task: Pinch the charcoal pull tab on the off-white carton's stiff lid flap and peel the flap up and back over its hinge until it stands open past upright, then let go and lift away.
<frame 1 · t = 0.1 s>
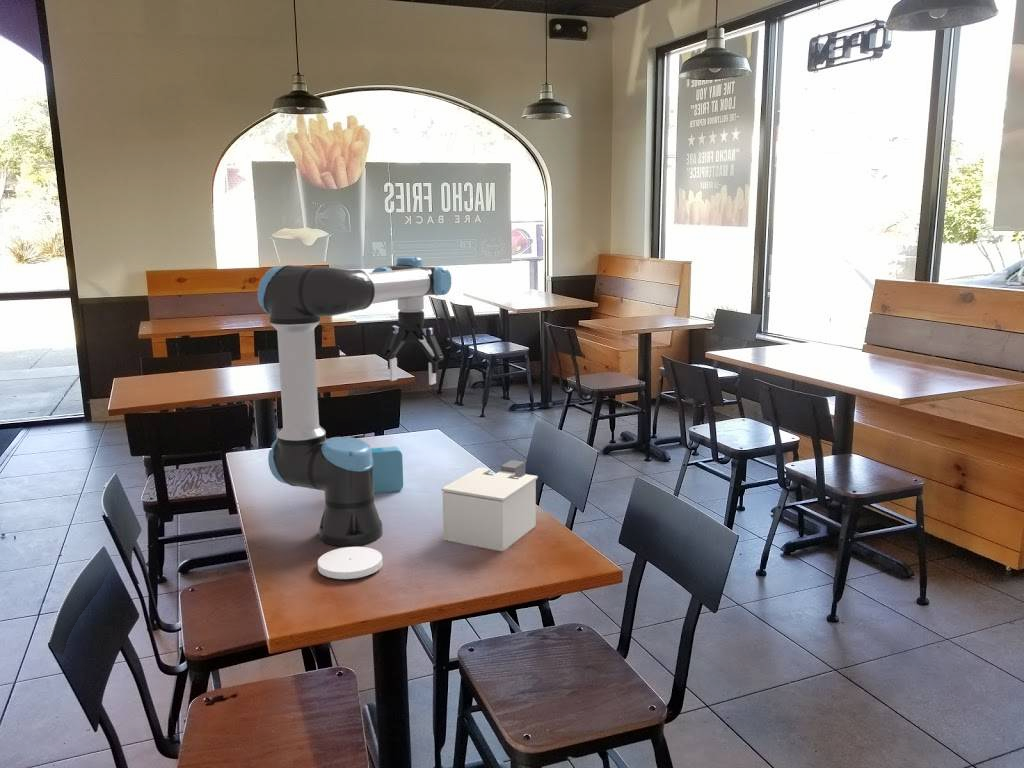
hand: (413, 382, 245), 28 cm above the table, tool pointing down, fingers open, 13 cm apart
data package: (381, 491, 235), on the table
carton flap: (496, 479, 203), point 13 cm above the table, hinge at 0.0°
carton: (490, 532, 203), on the table
plastic lid: (350, 570, 183), on the table
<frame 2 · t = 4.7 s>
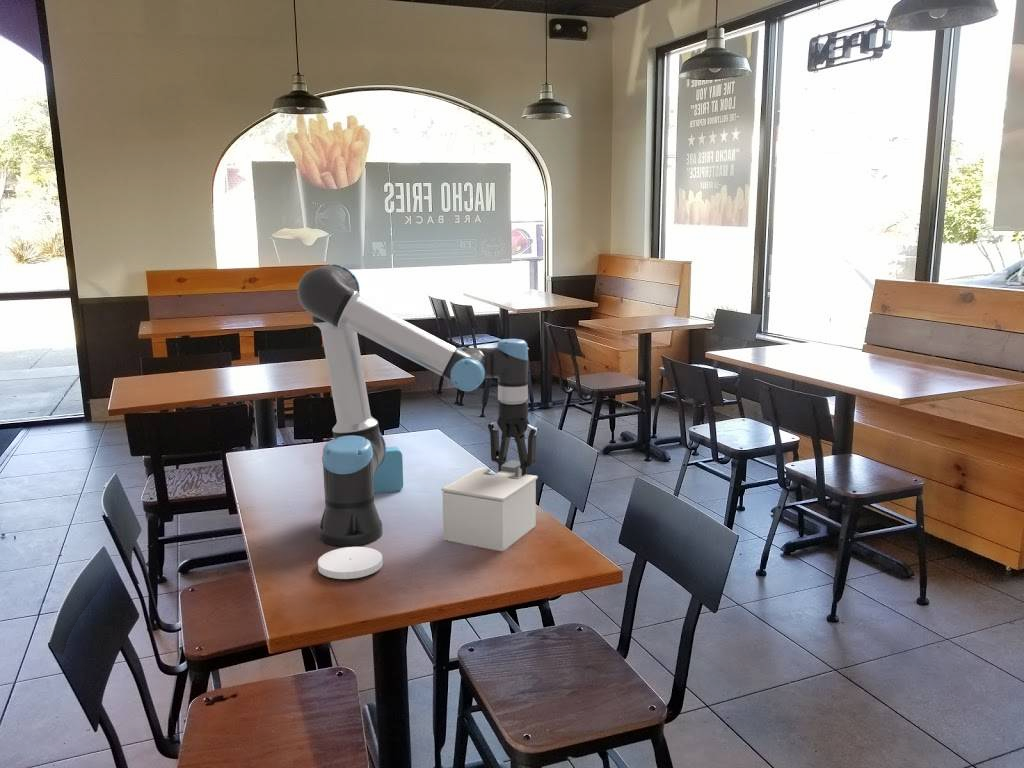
hand: (513, 489, 212), 7 cm above the table, tool pointing down, fingers closed on carton flap, 4 cm apart
carton flap: (496, 479, 203), point 13 cm above the table, hinge at 0.0°, touching gripper
everything else where it was.
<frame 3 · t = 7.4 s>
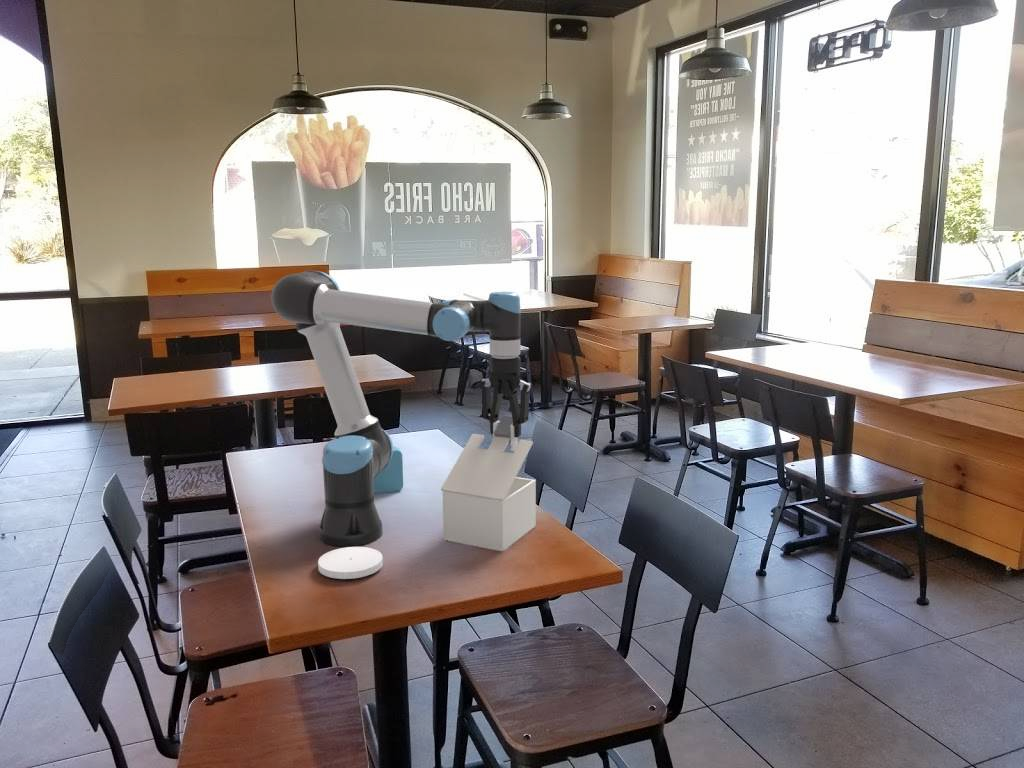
hand: (505, 448, 206), 19 cm above the table, tool pointing down, fingers closed on carton flap, 4 cm apart
carton flap: (492, 456, 200), point 19 cm above the table, hinge at 31.9°, touching gripper
everything else where it was.
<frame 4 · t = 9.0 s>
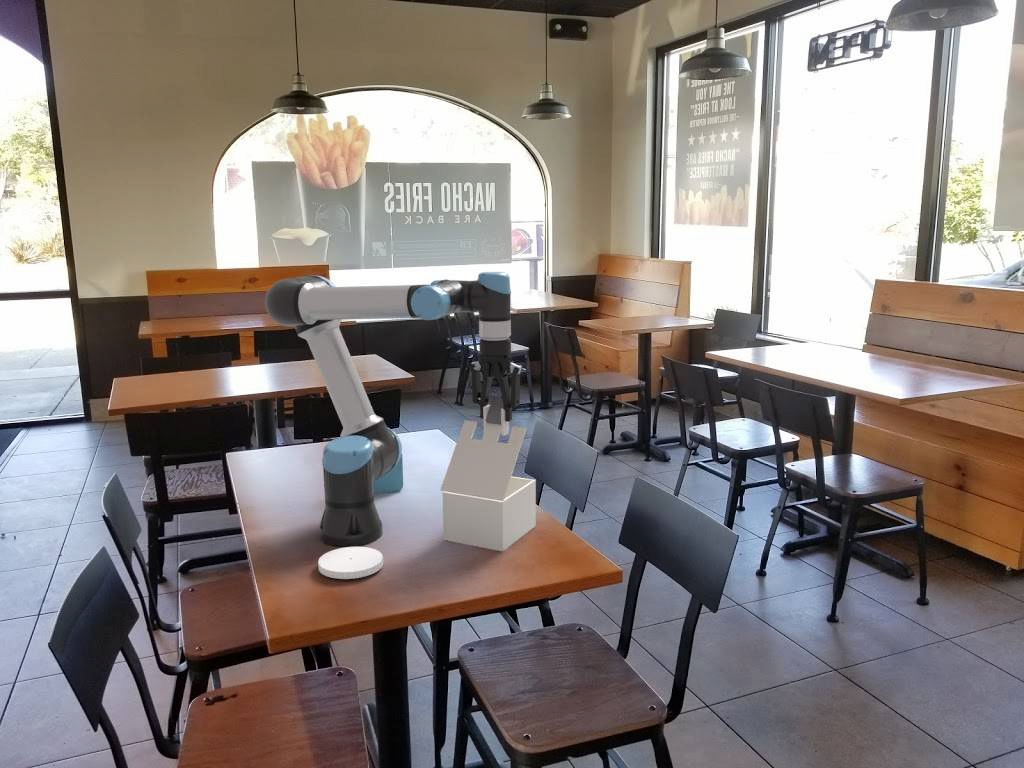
hand: (496, 432, 201), 24 cm above the table, tool pointing down, fingers closed on carton flap, 4 cm apart
carton flap: (487, 447, 197), point 22 cm above the table, hinge at 49.9°, touching gripper
everything else where it was.
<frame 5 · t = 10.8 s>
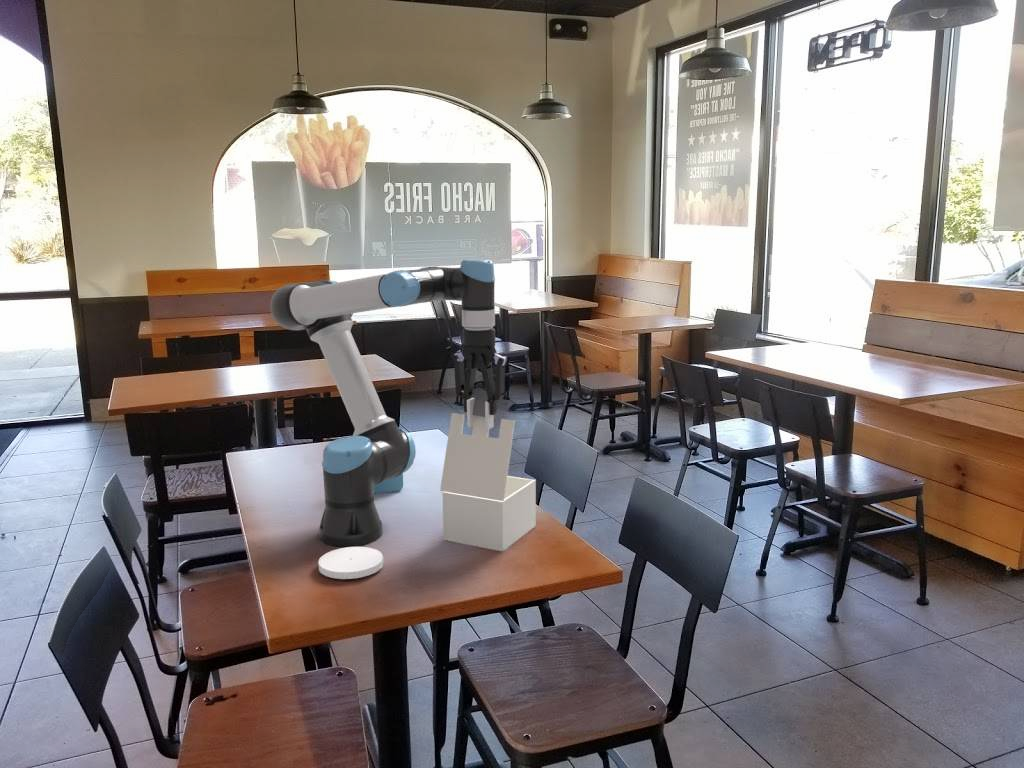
hand: (480, 426, 193), 28 cm above the table, tool pointing down, fingers closed on carton flap, 4 cm apart
carton flap: (479, 443, 193), point 24 cm above the table, hinge at 71.2°, touching gripper
everything else where it was.
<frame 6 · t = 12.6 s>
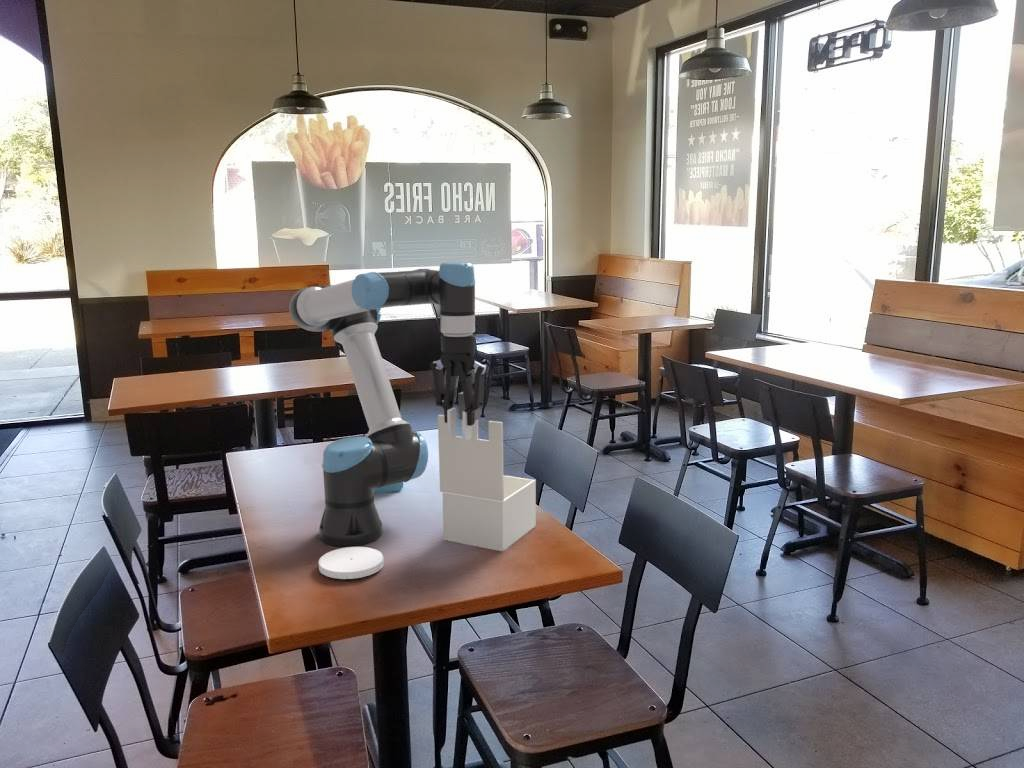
hand: (459, 438, 185), 27 cm above the table, tool pointing down, fingers open, 3 cm apart
carton flap: (470, 445, 190), point 25 cm above the table, hinge at 90.9°
everything else where it was.
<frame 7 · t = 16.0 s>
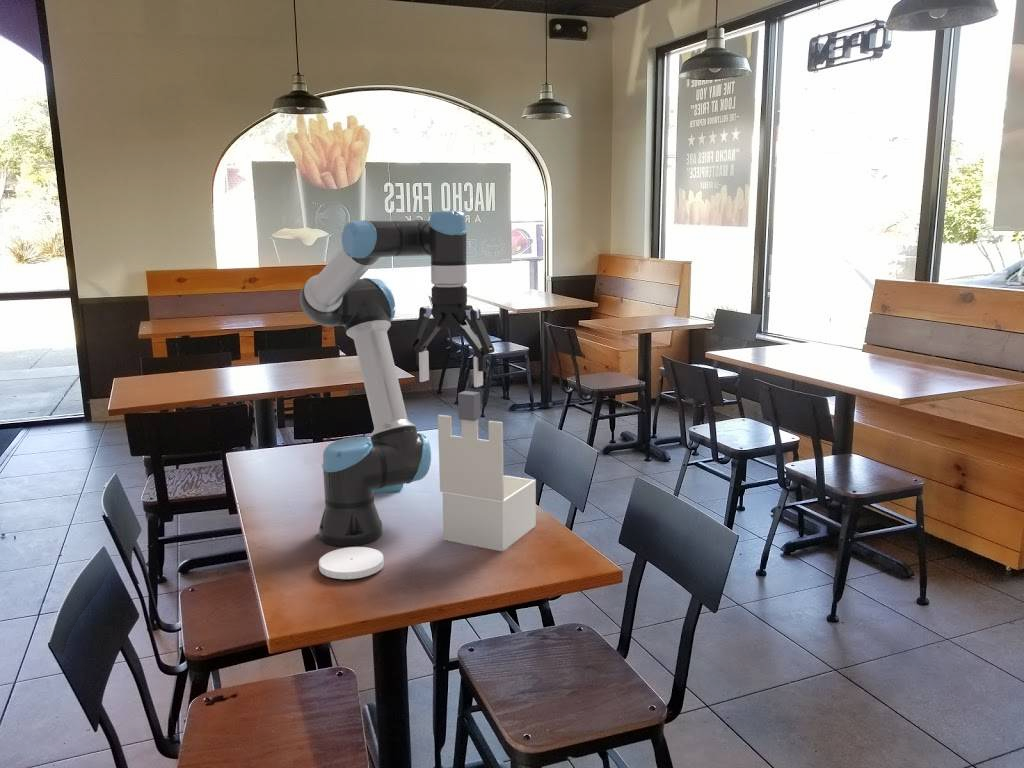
hand: (451, 383, 180), 40 cm above the table, tool pointing down, fingers open, 13 cm apart
nothing on the table moved.
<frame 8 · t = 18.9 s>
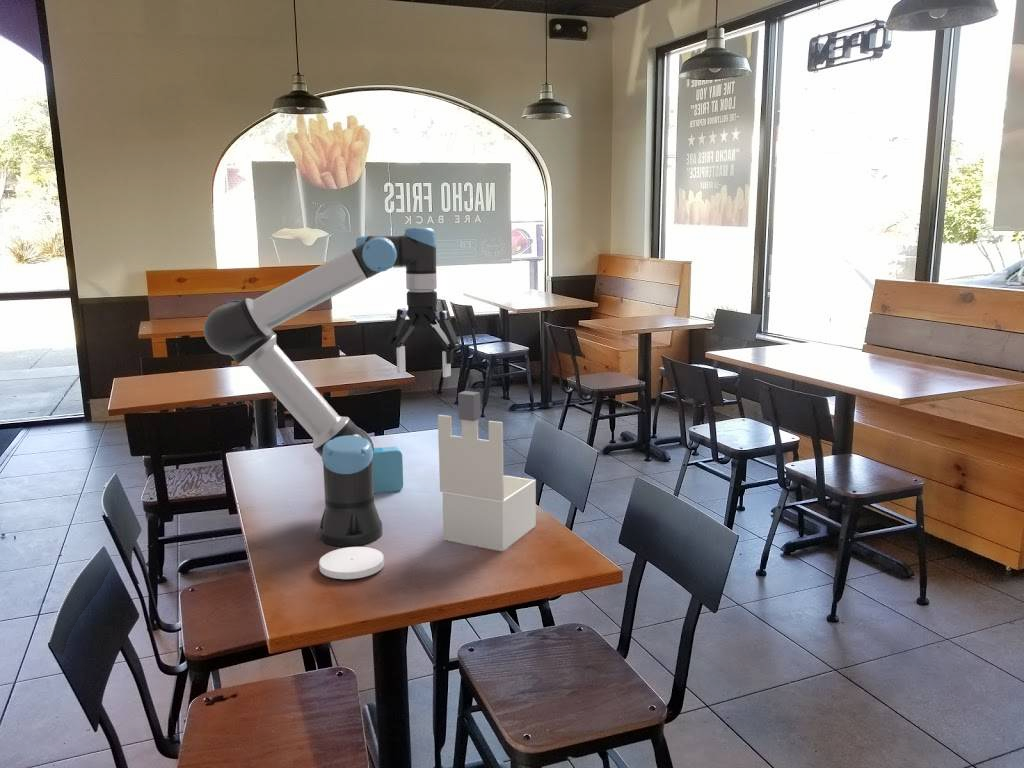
hand: (423, 374, 210), 37 cm above the table, tool pointing down, fingers open, 13 cm apart
nothing on the table moved.
at the end: carton flap at +91° (first picture: +0°); the gripper is holding nothing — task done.
